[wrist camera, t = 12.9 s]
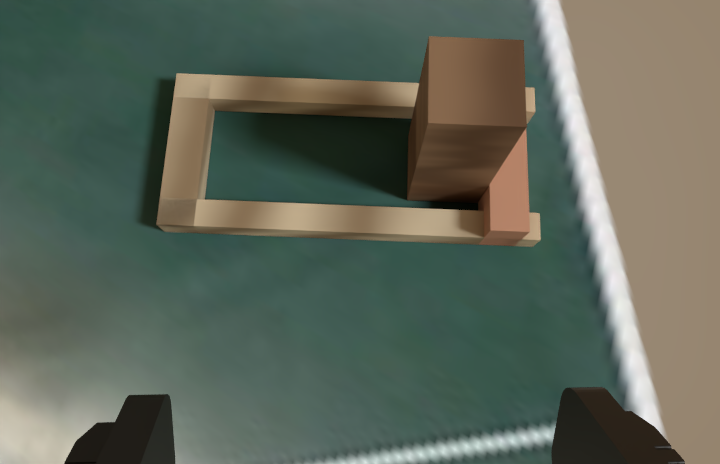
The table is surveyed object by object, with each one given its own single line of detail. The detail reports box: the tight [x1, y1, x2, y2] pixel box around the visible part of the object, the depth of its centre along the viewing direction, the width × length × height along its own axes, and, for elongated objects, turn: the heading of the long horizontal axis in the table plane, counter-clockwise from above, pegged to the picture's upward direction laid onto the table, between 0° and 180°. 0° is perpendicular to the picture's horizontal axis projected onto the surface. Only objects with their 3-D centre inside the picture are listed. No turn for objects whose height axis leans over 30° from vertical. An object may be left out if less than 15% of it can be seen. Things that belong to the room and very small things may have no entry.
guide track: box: [156, 73, 541, 247], centre depth 33 cm, size 20×9×3 cm, turn 88°
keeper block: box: [407, 36, 527, 203], centre depth 29 cm, size 4×4×10 cm
